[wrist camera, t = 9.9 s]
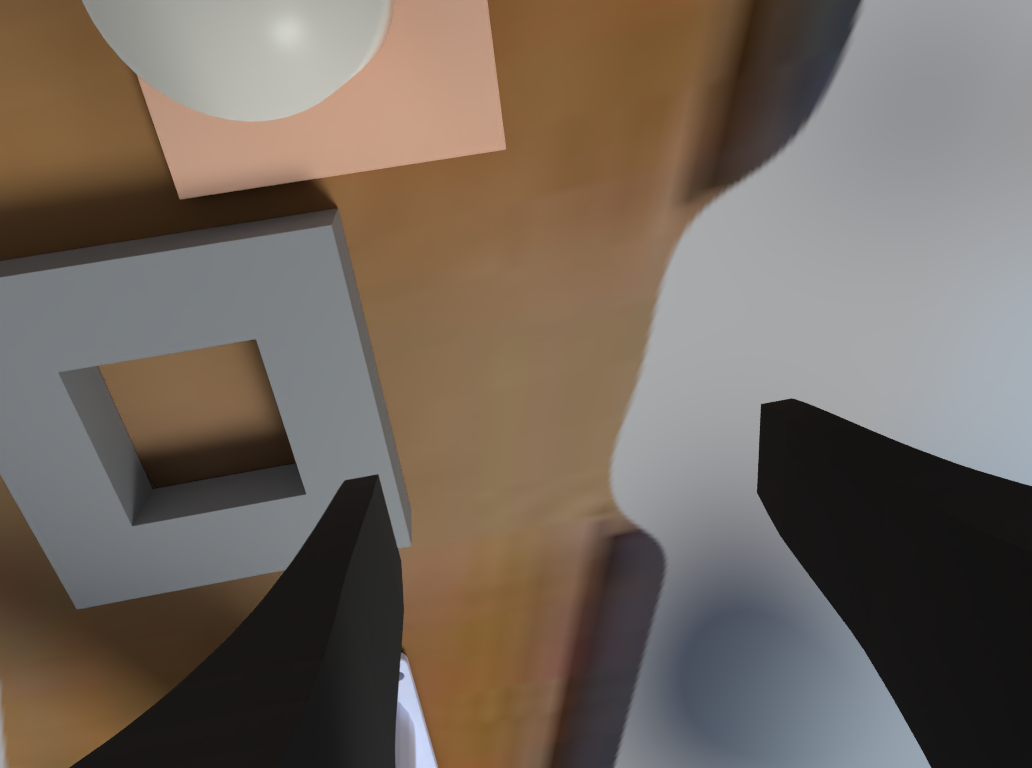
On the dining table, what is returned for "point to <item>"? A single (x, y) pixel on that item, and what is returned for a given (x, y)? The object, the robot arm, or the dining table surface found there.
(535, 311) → the dining table surface
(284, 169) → the tile
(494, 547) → the dining table surface
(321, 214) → the grey square frame
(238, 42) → the plug
